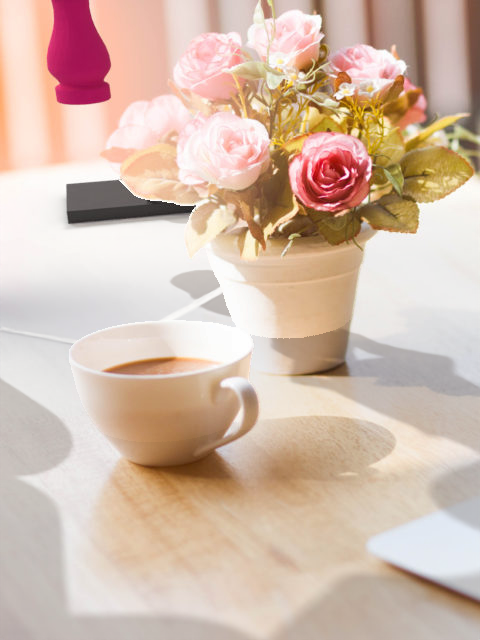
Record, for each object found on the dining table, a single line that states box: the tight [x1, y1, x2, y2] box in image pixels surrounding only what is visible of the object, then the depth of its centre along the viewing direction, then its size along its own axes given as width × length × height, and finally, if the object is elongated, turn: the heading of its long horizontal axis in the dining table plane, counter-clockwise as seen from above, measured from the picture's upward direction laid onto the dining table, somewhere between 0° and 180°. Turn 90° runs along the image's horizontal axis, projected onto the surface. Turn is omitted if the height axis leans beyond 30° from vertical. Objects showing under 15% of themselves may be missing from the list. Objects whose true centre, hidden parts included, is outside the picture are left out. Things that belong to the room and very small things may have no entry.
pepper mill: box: [46, 0, 112, 106], centre depth 139 cm, size 7×7×20 cm
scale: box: [65, 179, 196, 225], centre depth 160 cm, size 16×14×4 cm
